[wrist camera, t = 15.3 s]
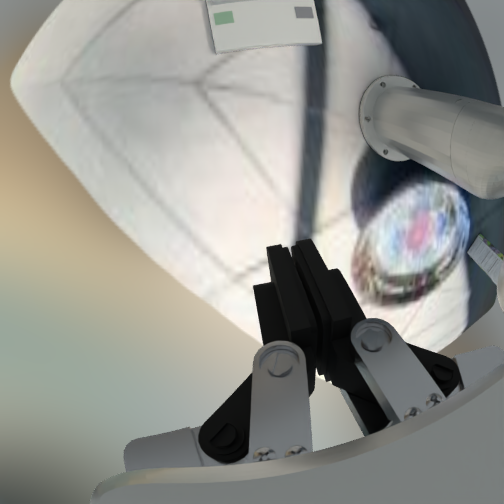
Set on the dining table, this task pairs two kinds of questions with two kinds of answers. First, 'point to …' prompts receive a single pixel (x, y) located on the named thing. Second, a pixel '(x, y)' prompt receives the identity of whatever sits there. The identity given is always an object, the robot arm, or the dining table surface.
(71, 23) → the dining table surface
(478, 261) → the syrup box
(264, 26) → the breaker panel
